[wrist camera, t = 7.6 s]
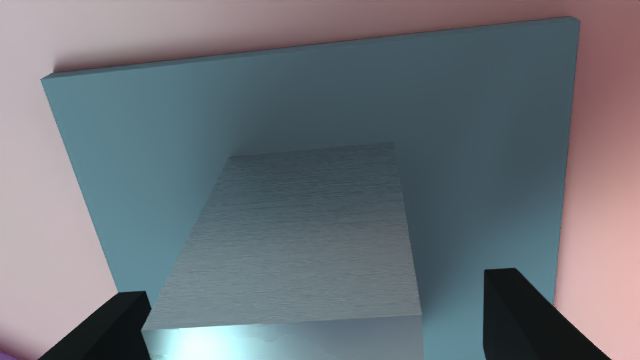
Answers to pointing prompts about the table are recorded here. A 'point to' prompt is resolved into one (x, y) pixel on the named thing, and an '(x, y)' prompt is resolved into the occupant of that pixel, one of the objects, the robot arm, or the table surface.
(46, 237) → the table surface
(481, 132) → the slate mat
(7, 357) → the bracket
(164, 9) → the table surface
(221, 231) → the steel block
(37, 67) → the table surface
